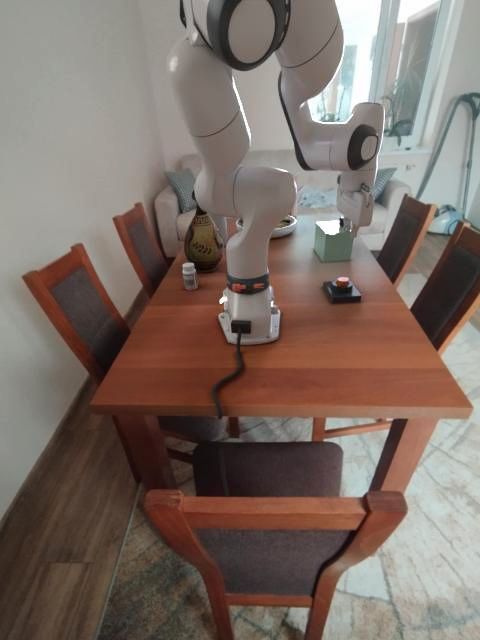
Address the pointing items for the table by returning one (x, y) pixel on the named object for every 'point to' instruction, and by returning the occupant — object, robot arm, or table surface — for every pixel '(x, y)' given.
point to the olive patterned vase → (220, 225)
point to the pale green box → (332, 242)
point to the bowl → (280, 230)
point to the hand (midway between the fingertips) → (349, 234)
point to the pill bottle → (190, 276)
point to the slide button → (341, 221)
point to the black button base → (341, 292)
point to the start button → (342, 281)
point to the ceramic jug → (203, 242)
